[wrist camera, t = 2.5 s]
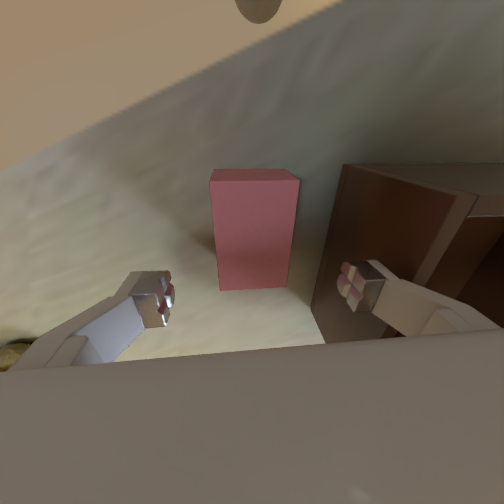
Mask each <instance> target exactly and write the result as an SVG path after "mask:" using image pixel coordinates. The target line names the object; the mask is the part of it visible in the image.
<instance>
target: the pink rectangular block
mask: <svg viewBox="0 0 504 504" xmlns="http://www.w3.org/2000/svg"><path fill="white" fill-rule="evenodd" d="M299 184H300V180H299V179H297V178H296V177H294V176H293V175H291V174H290V173H289V172H287V171H286V170H284V169H214V171H213V174H212V176H211V179H210V181H209V186H210V196H211V206H212V216H213V226H214V236H215V247H216V257H217V267H218V277H219V287H220V291H227V290H244V289H262V288H279V287H286V286H287V278H288V270H289V262H290V255H291V247H292V239H293V231H294V223H295V216H296V208H297V200H298V192H299Z"/></svg>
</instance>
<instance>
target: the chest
mask: <svg viewBox="0 0 504 504" xmlns="http://www.w3.org/2000/svg"><path fill="white" fill-rule="evenodd" d="M364 260H377V261H379V262H380V263H381V264H382V265H383V266H384V267H386V268H387V269H388V270H389V271H390V272H392V273H393V274H394V275H395V276H396V277H398V278H399V279H404V280H406V281H409V282H411V283H414V284H416V285H419V286H422V287H424V288H427V289H429V290H432V291H434V292H437V293H439V294H442V295H444V296H447V297H449V298H452V299H454V300H457V301H459V302H462V303H465V304H467V305H470V306H471V307H473V308H474V309H476V310H477V311H478V312H480V313H481V314H483V315H484V316H485V317H487V318H488V319H490V320H491V321H493V322H494V323H495V324H497V325H498V326H500V327H501V328H504V163H402V164H343V167H342V171H341V176H340V180H339V185H338V189H337V193H336V198H335V202H334V207H333V211H332V216H331V220H330V224H329V229H328V233H327V238H326V242H325V246H324V251H323V255H322V260H321V264H320V269H319V273H318V277H317V282H316V286H315V291H314V295H313V299H312V304H311V308H310V309H311V312H312V314H313V316H314V318H315V321H316V323H317V325H318V327H319V330H320V332H321V334H322V336H323V338H324V341H325V343H326V344H327V343H339V342H350V341H362V340H373V339H385V338H396V337H406V336H405V335H403V334H402V333H400V332H399V331H398V330H396V329H395V328H393V327H392V326H390V325H389V324H387V323H386V322H384V321H383V320H382V319H380V318H379V317H377V316H376V315H374V314H373V313H372V312H353V311H352V309H351V308H350V306H349V305H348V304H347V302H346V301H347V298H345V297H344V296H342V295H341V294H340V292H339V290H338V287H337V280H338V276H339V275H340V274H341V273H342V271H341V266H342V264H343V262H350V261H364Z"/></svg>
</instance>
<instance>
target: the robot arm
mask: <svg viewBox="0 0 504 504" xmlns="http://www.w3.org/2000/svg"><path fill="white" fill-rule="evenodd" d="M341 271H342V273H341V274H340V275H339V276H338V280H337V287H338V290H339V292H340V294H341V295H342V296H344V297H345V298H347V301H346V302H347V304H348V305H349V306H350V308H351V309H352V311H353V312H372V313H373V314H374V315H376V316H377V317H379V318H380V319H382V320H383V321H384V322H386V323H387V324H389V325H390V326H392V327H393V328H395V329H396V330H398V331H399V332H400V333H402V334H403V335H405V336H406V337H396V338H385V339H373V340H362V341H350V342H339V343H327V344H316V345H304V346H293V347H281V348H270V349H259V350H247V351H236V352H224V353H213V354H201V355H190V356H179V357H167V358H156V359H144V360H133V361H121V362H113V361H114V360H115V359H116V358H117V357H118V356H119V355H120V354H121V353H122V352H123V351H124V350H125V349H126V348H127V347H128V346H129V345H130V344H131V343H132V342H133V341H134V340H135V339H136V338H137V337H138V336H139V335H140V334H141V333H142V332H143V331H144V330H145V328H155V327H165V326H166V325H167V322H168V319H169V316H170V312H169V309H170V308H171V307H172V306H173V304H174V299H175V291H174V286H173V285H172V284H171V283H170V281H171V275H170V272H169V271H168V270H165V271H136V272H131V273H130V274H129V276H128V277H127V278H126V280H125V281H124V282H123V284H122V285H121V287H120V288H119V289H118V291H117V292H116V293H115V295H114V296H113V297H108V298H106V299H104V300H103V301H101V302H99V303H98V304H96V305H94V306H92V307H91V308H89V309H87V310H85V311H84V312H82V313H80V314H78V315H77V316H75V317H73V318H71V319H70V320H68V321H66V322H65V323H63V324H61V325H59V326H58V327H56V328H54V329H52V330H51V331H49V332H47V333H45V334H44V335H42V336H40V337H38V338H37V339H36V340H35V341H34V342H33V344H32V345H31V346H30V347H29V348H28V349H27V350H26V351H25V352H24V353H23V354H22V355H21V356H20V357H19V358H18V359H17V360H16V361H15V363H14V364H13V365H12V366H11V367H10V368H9V369H8V370H7V371H6V372H0V504H504V328H501V327H500V326H498V325H497V324H495V323H494V322H493V321H491V320H490V319H488V318H487V317H485V316H484V315H483V314H481V313H480V312H478V311H477V310H476V309H474V308H473V307H471V306H470V305H467V304H465V303H462V302H459V301H457V300H454V299H452V298H449V297H447V296H444V295H442V294H439V293H437V292H434V291H432V290H429V289H427V288H424V287H422V286H419V285H416V284H414V283H411V282H409V281H406V280H404V279H399V278H398V277H396V276H395V275H394V274H393V273H392V272H390V271H389V270H388V269H387V268H386V267H384V266H383V265H382V264H381V263H380V262H379V261H377V260H364V261H350V262H343V264H342V266H341Z"/></svg>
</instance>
